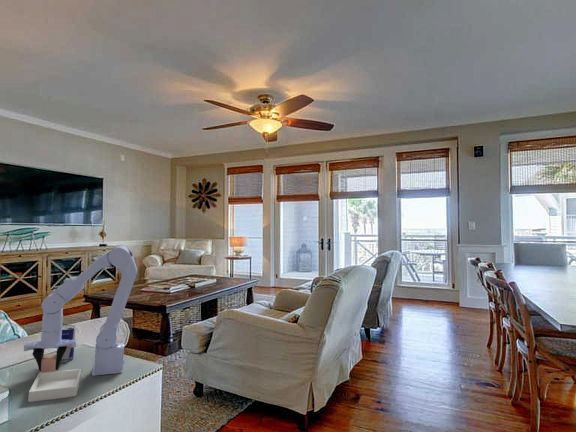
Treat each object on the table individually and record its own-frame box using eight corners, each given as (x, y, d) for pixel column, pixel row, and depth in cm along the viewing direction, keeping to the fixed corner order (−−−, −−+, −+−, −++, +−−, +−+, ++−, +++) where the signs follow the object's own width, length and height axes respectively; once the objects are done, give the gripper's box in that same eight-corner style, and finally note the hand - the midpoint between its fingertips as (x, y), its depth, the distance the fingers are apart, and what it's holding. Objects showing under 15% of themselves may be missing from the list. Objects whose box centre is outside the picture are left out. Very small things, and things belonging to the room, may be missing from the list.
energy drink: (65, 363, 126) (67, 330, 126) (52, 361, 127) (54, 328, 127) (76, 357, 131) (79, 326, 131) (64, 355, 132) (67, 324, 132)
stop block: (57, 370, 120) (58, 353, 120) (54, 376, 117) (56, 358, 117) (43, 372, 119) (44, 354, 119) (40, 377, 115) (41, 359, 115)
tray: (81, 377, 117) (81, 368, 117) (76, 396, 106) (76, 386, 106) (38, 382, 112) (38, 372, 112) (28, 402, 102) (28, 391, 101)
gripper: (78, 324, 124) (75, 362, 124) (29, 326, 118) (26, 366, 118) (75, 331, 118) (72, 371, 118) (23, 334, 112) (20, 376, 112)
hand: (49, 369), depth 118 cm, fingers closed on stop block, 4 cm apart
